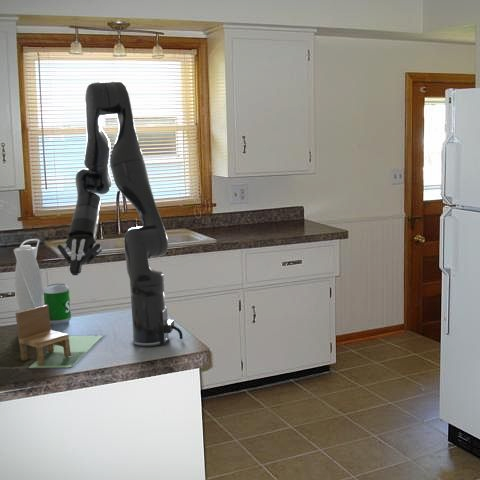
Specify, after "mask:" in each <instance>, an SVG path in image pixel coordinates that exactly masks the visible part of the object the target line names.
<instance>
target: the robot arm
mask: <svg viewBox="0 0 480 480" xmlns="http://www.w3.org/2000/svg"><path fill="white" fill-rule="evenodd" d="M86 87H87V88H86V91H85V99H84V101H85V102H84V103H85V127H86V143H85V144H86V145H85V153H84V161H83V164H84V166H85V168H81V169H79V170H78V171H77V172H76V175H75V188H76V194H77V197H76V204H75V209H74V212H73V214H72V219H71V221H70V222H71V223H70V226H69V232H68V238H67V239H66V241H65V243H64V244H58V245H57V246H56V247H57V249H58V251H59V253H60V254H61V256H62V257H63V259H64V260H65V261H66V262H67V264H70V265H69V272H70V274H71V275H72V276H79V274H81V273H82V269H83V265H84V264H85V263H86V264H89V263H90V262H92V260H94V259H95V258H96V257H97V256H98V255H99V254H100V253H101V252H102V251H103V248H102V245H101V244H100V243H97V241H96V238H97V234H98V233H97V232H98V227H99V225H100V223H99V222H100V211H101V207H102V198H101V197H100V195H105V194H107V193H109V191H110V190H111V187H112V178H111V173H112V176H113V181H114V184H115V186H116V187H117V189H118V190H119V191H120V193H121V194H122V196H124V198H126V200H127V201H128V202H129V203H130V204H131V205H132V206H133V207H134V209H135V210H136V212H137V213H138V216H139V219H140V221H141V224H142V226H136V227H135V226H134V227H131V228H128V230H127V231H126V232H125V235H124V239H123V246H124V255H125V263H126V272H127V275H128V278H129V284H130V285H129V287H130V289H129V290H130V304H131V320H132V321H131V322H132V338H133V339H132V343H133V345H134V346H138V347H145V348H147V347H149V348H150V347H156V346H163V345H166V343H167V342H168V340H169V338H170V337H169V334H171V333H172V332H173V330H175V331H177V333H178V334H179V335H178V336H179V339H180V340H182V339H183V336H184V335H183V332H182V330H181V329H180V328H179V327H177V326H176V325H175V320H174V319H168V317H169V316H168V306H166V299H165V297H166V295H165V278H164V273H163V272H162V271H161V270H160V269H153V268H151V266H150V265H149V260H150V259H155V258H159V257H160V258H161V257H162V256H163V257H164V256H165V255H166V253H168V250H169V238H168V235H167V234H168V233H167V232H166V228H165V225H164V223H163V220H162V217H161V215H160V212H159V209H158V207H157V206H158V205H157V204H156V201H155V197H154V194H153V190H152V187H151V184H150V179H149V175H148V172H147V171H148V170H147V167H146V163H145V159H144V156H143V153H142V150H141V146H140V142H139V139H138V135H137V131H136V126H135V120H134V116H133V115H134V114H133V110H132V109H133V108H132V104H131V99H130V95H129V91H128V89H127V87H126V85H125V83H124V82H122V81H119V80H113V81H111V80H110V81H98V82H92V83H89V84H88V85H87V86H86ZM114 115H116V117H117V122H118V133H117V137H116V140H115V143H114V145H113V148H112V149H111V142H110V139H109V138H108V136H107V134H106V133H105V131H104V130H103V128H102V126H101V124H100V118H101V117H103V116H114ZM111 150H112V151H111ZM109 165H110V168H109ZM110 170H111V173H110ZM68 249H69V251H70V253H71V254H70V255H69V253H68Z"/></svg>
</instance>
